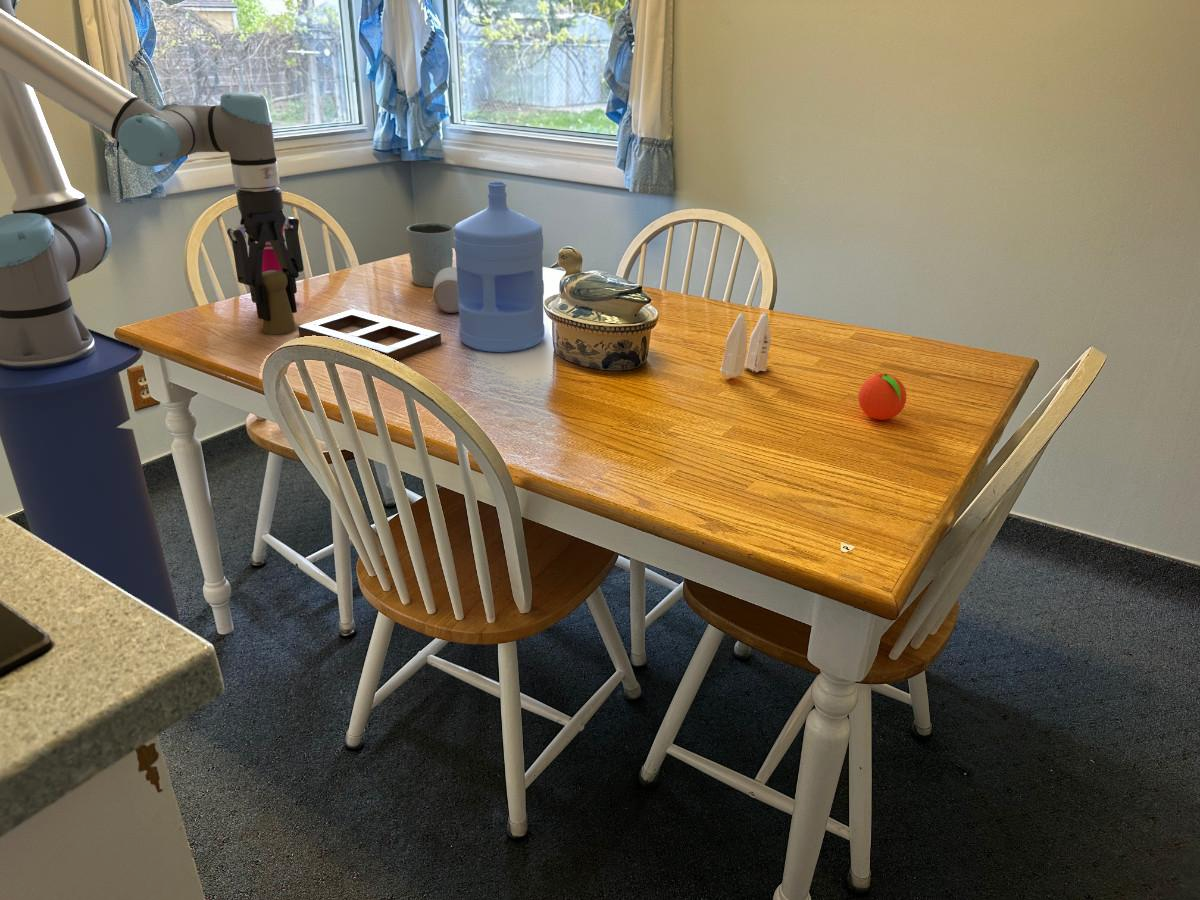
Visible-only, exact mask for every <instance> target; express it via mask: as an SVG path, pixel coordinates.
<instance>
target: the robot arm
mask: <svg viewBox="0 0 1200 900" xmlns="http://www.w3.org/2000/svg"><path fill="white" fill-rule="evenodd" d="M19 1H20V0H0V159H1V162H2V165H3V167H4V170H5V171H6V174H7V177H8V179H9V181H10V183H11V186H12V189H13V191H14V193H15V196H16V197H15V200H14V201H13V204H12V205H11V207H10V209H11V211H12V213H10V214H9V213H8V214H3V215H2V216H0V368H3V369H7V370H14V371H34V370H44V369H51V368H56V367H61V366H65V365H69V364H72V363H75V362H78V361H81V360H83V359H85V358H87V357H89V356H90V355H92V354H93V353H94V352H95V350H96V346H95V342H94V339H93V337H92V335H91V334H90V332H89V331H88V329H89V328H88V327H87V326H86V324H85V323H84V322H83V320H82V319H81V317H80V316H79V314H78V312H77V311H76V310H75V307H74V305H73V301H72V297H71V293H70V290H69V286H68V283H69V282H71V281H73V280H74V279H76V278H79V277H81V276H83V275H85V274H86V275H87V274H88V273H90V272H92V271H94V270H95V269H97V268H98V267H99V266H100V265H101V264H103V262H104V261H105V260H106V259H107V258H108V257H109V254H110V252H111V249H112V244H113V241H112V232H111V228H110V227H109V224H108V223H107V221H106V219H105V218H104V217H103V215H102V214H100V213H99V212H96V211H95V209H94V208H92V207H91V206H89V204H88V201H87V199H86V196H85V194H84V193H83V192H81V191H80V190H78V189H76V188H74V187H73V186H72V185H71V183H70V180H69V178H68V176H67V173H66V170H65V167H64V165H63V163H62V160H61V158H60V155H59V152H58V150H57V147H56V145H55V142H54V140H53V136H52V134H51V132H50V129H49V126H48V124H47V121H46V119H45V116H44V114H43V110H42V108H41V105H40V103H39V100H38V98H37V96H36V92H35V91H37V92H38V93H39V94H41V95H43V96H44V97H46V98H48V99H49V100H51V101H52V102H54V103H56V104H57V105H59V106H61V107H62V108H64V109H66V110H67V111H69V112H70V113H72V114H73V115H74V116H77V117H78V118H80V119H82V120H83V121H85V122H86V123H88V124H89V125H91V126H92V127H95V128H96V129H97V130H99V131H101V132H102V133H104V134H105V135H107V136H109V137H111V138H112V139H114V140H115V141H116V142H118V144H119V146H120V148H121V150H122V151H123V153H124V155H125V156H126V158H128V159H129V160H130V161H132V162H133V163H134V164H137V165H139V166H141V167H149V168H151V167H159V166H164V165H168V164H170V163H172V162H174V161H176V160H178V159H181V158H184V157H187V156H190V155H193V154H196V153H228V154H229V157H230V158H229V159H230V164H231V173H232V177H233V179H232V180H233V185H234V186H235V188H237V189H236V191H235V195H236V202H237V209H238V210H239V212H240V215H241V217H240V222H239V224H238V226H236V227H235V228H232V227H230V228H228V229H227V231H226V232H227V235H228V237H229V239H230V241H231V245H232V252H233V258H234V265H235V272H236V278H237V282H238V283H239V284H242V285H246V286H248V287H249V291H250V297H251V298H250V299H251V302H252V303H253V304H255V307H256V313H257V318H258V319H260V320H262V321H263V320H266V321H269V320H271V318H270V311H269V305H268V299H267V292H266V286H265V285H262V284H261V277H262V262H263V249H264V248H265V245H266V242H267V241H269V242H270V243H271V245H272V248H273V250H274V253H275V255H276V258H277V260H278V263H279V265H280V268H281V270H282V272H284V274H285V275H286V277H287V280H288V284H287V287H286V292H287V296H288V299H289V303H290V306H291V310H292V313H293V314H297V313H298V309H297V301H296V295H295V294H297V292H298V288H297V281H296V279H297V278H299V276H300V274H299V273H302V272H303V271H304V270H305V269H304V261H303V255H302V249H301V244H300V236H299V226H300V220H299V219H298V218H296V217H291V216H286V215H285V213H284V212H283V209H284V201H283V194H282V193H283V192H282V189H281V188H280V187H279V186H280V184H281V181H280V174H279V173H280V172H279V166H278V161H277V159H278V158H277V155H276V154H277V153H276V145H275V139H274V129H273V119H272V117H271V112H270V108H269V103H268V99H267V98H266V96H265V95H263V94H262V93H258V92H247V91H246V92H245V91H243V92H226V93H223V94H221V95H220V103H219V104H218V105H200V104H199V105H198V104H197V105H195V104H194V105H193V104H178V103H170V104H158V105H155V106H152V105H150V104H149V103H148V102H146V101H145V100H142V99H141V98H140V97H138V96H137V95H135V94H134V93H132V92H130V91H129V90H128V89H126V88H124V87H123V86H121V85H120V84H118V83H116V82H115V81H113V80H112V79H111V78H109V77H107V76H106V75H104V74H103V73H101V72H99V71H98V70H97V69H95V68H93V67H92V66H91V65H88V64H87V63H86V62H84V61H83V60H81V59H79V58H78V57H76V56H75V55H73V54H71V53H70V52H68V51H67V50H66V49H64V48H62V47H61V46H60V45H58V44H56V43H54V42H53V41H51V40H49V39H48V38H46V37H45V36H43V35H42V34H41V33H40V32H39V33H38V32H37V31H36V30H34V29H33V28H32V27H29V26H28V25H26V24H24V23H23V22H22V21H20V20H19V19H18V18H17V15H16V12H15V11H16V10H17V8H18V6H17V5H18V2H19ZM283 226H284V232H283V234H282V228H283ZM246 234H247V235H246ZM246 238H247V240H246ZM257 242H258V243H257Z"/></svg>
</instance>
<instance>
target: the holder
mask: <svg viewBox="0 0 1200 900" xmlns="http://www.w3.org/2000/svg"><path fill="white" fill-rule="evenodd" d="M352 325H353V326H356V327H360V328H361V329H358V330H355V331H352V332H349V333H344V332H341V331H337V330H340V329H343V328H346V327H349V326H352ZM297 330H298V335H299V336H298V337H301V338H303V337H304V336H312V335H316V336H328V337H333V338H337V339H341V340H345V341H348V342H351V343H354V344H356V345H360V346H364V347H367V348H370V349H372V350H375V351H378V352H380V353H382V354H385V355H387V356H389V357H391V358H393V359H395V360H397V361H400V360H403V359H406V358H407V357H411V356H412V355H415V354H418V353H420V352H421V353H422V352H423V351H425V350H428V349H431V348H434V347H435V346H438V345H442V333H441V332H437V331H433V330H430V329H427V328H423V327H419V326H416V325H412V324H409V323H405V322H401V321H398V320H394V319H390V318H387V317H382V316H380V315H376V314H371V313H369V312H365V311H360V310H357V309H353V308H352V309H349V310H346V311H343V312H338V313H336V314H333V315H329V316H327V317H323V318H320V319H317V320H314V321H310V322H308V323H307V322H306V323H304V324H301V325H297ZM390 336H392V337H395V338H399V339H401V341H398V342H395V343H393V344H391V345H385V344H382V343H378V342H376V341H379V340H382V339H384V338H388V337H390Z"/></svg>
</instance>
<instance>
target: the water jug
mask: <svg viewBox="0 0 1200 900" xmlns="http://www.w3.org/2000/svg"><path fill="white" fill-rule="evenodd" d="M487 187H488V193H487V197H488V206H487V207H486V208H485V209H483V210H481V211H478V212H477V213H475V214H472V215H471V216H469V217H467V218H465V219H462V220H461V221H459V222H457V223H456V224H455V226H454V227H453V228H454V234H453V249H454V252H455V266H456V268H457V293H458V304H459V312H458V320H459V321H458V322H459V326H458V334H459V335H458V336H459V339H460V340H461V342H462V343H463V344H464V345H466V346H467V347H469V348H472V349H475V350H478V351H483V352H490V353H491V352H492V353H510V352H519V351H523V350H527V349H530V348H532V347H535V346H537V345H538V344H540V343H541V342H542V340H543V339H544V337H545V331H546V329H545V328H546V327H545V323H544V294H545V284H544V276H543V275H544V274H543V272H544V270H543V268H544V267H543V265H544V263H543V251H544V235H543V226H542V225H541V223H539V222H538V221H537V220H535V219H532V218H530V217H528V216H526V215H523V214H522V213H520V212H517V211H515V210H513V209H512V208H509V206H508V204H507V196H508V195H507V191H506V188H507V183H506V182H502V181H491V182H488V183H487Z"/></svg>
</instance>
